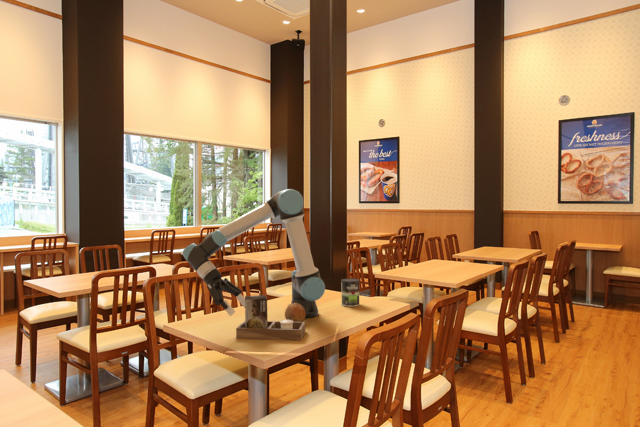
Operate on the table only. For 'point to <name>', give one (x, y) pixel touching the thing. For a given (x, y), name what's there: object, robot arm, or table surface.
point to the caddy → (272, 332)
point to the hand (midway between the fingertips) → (240, 310)
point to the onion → (295, 312)
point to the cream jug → (286, 324)
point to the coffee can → (350, 292)
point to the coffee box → (256, 311)
